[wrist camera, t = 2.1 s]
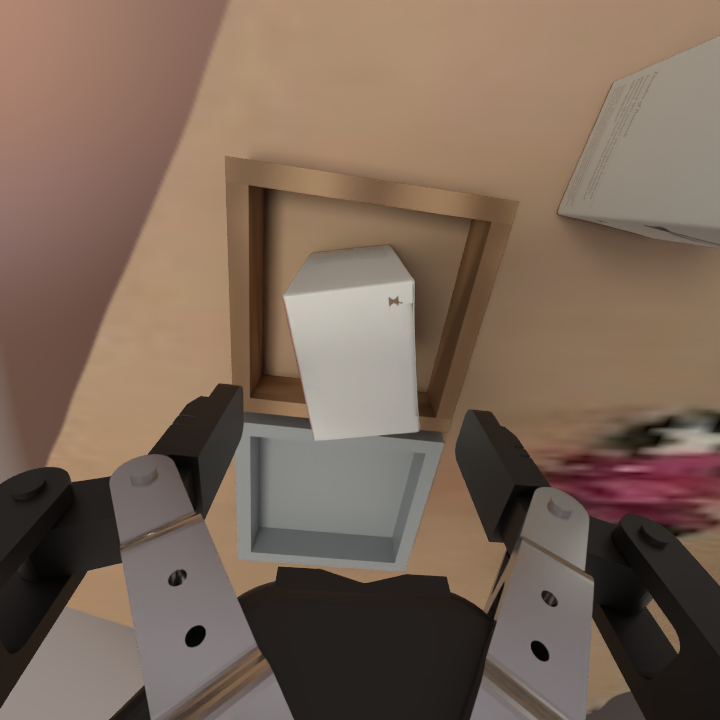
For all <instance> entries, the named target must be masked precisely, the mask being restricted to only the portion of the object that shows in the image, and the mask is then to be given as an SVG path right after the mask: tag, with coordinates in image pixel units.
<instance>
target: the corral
mask: <svg viewBox="0 0 720 720" xmlns="http://www.w3.org/2000/svg"><path fill="white" fill-rule="evenodd" d="M225 175H226V206H227V236H228V267H229V297H230V328H231V358H232V385H239V386H242V387H243V408H244V411H245V412H255V413H264V414H274V415H283V416H293V417H303V418H309V416H308V411H307V407H306V402H305V397H304V393H303V388H302V384H301V379H296V378H287V377H278V376H269V375H262V342H263V254H264V188H271V189H277V190H284V191H291V192H297V193H304V194H311V195H317V196H324V197H331V198H337V199H344V200H351V201H357V202H364V203H371V204H377V205H384V206H391V207H397V208H404V209H410V210H417V211H424V212H430V213H437V214H444V215H450V216H457V217H464V218H470V219H472V222H471V226H470V230H469V234H468V237H467V241H466V245H465V249H464V253H463V257H462V260H461V264H460V268H459V272H458V276H457V280H456V284H455V287H454V291H453V295H452V299H451V303H450V307H449V311H448V314H447V318H446V322H445V326H444V330H443V334H442V337H441V341H440V345H439V349H438V353H437V357H436V361H435V364H434V368H433V372H432V376H431V380H430V384H429V388H428V391H427V393H421V392H417V399H418V413H419V422H420V430H427V431H437V432H446V433H448V430H449V427H450V424H451V421H452V417H453V414H454V411H455V408H456V404H457V401H458V398H459V395H460V392H461V388H462V385H463V382H464V379H465V375H466V372H467V369H468V366H469V362H470V359H471V356H472V353H473V349H474V346H475V343H476V340H477V337H478V333H479V330H480V327H481V324H482V320H483V317H484V314H485V311H486V307H487V304H488V301H489V298H490V295H491V291H492V288H493V285H494V282H495V278H496V275H497V272H498V269H499V265H500V262H501V259H502V256H503V253H504V249H505V246H506V243H507V240H508V236H509V233H510V230H511V227H512V223H513V220H514V217H515V214H516V211H517V207H518V204H519V202H518V201H512V200H505V199H499V198H492V197H486V196H479V195H473V194H467V193H460V192H454V191H447V190H441V189H434V188H428V187H422V186H415V185H409V184H402V183H396V182H389V181H383V180H377V179H370V178H364V177H357V176H351V175H344V174H338V173H332V172H325V171H319V170H312V169H306V168H299V167H293V166H287V165H280V164H274V163H267V162H261V161H254V160H248V159H241V158H235V157H229V156H225Z"/></svg>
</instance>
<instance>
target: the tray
mask: <svg viewBox="0 0 720 720" xmlns="http://www.w3.org/2000/svg"><path fill="white" fill-rule="evenodd" d="M443 446H444V440H443V437H442V435H441V432H437V431H427V430H419V431H418V432H414V433H401V434H390V435H379V436H368V437H357V438H345V439H334V440H320V441H315V440H313V434H312V429H311V425H310V420H309V418H303V417H293V416H283V415H274V414H264V413H255V412H245V411H244V427H243V433H242V437H241V440H240V442H239V445H238V447H237V449H236V451H235V480H236V511H237V541H238V560H251V561H265V562H278V563H292V564H305V565H319V566H332V567H345V568H359V569H372V570H386V571H399V572H405V569H406V566H407V563H408V560H409V556H410V553H411V550H412V547H413V543H414V540H415V537H416V534H417V531H418V527H419V524H420V521H421V518H422V514H423V511H424V508H425V505H426V501H427V498H428V495H429V492H430V488H431V485H432V482H433V479H434V476H435V472H436V469H437V466H438V463H439V459H440V456H441V453H442V450H443Z"/></svg>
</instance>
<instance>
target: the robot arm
mask: <svg viewBox="0 0 720 720" xmlns="http://www.w3.org/2000/svg"><path fill="white" fill-rule="evenodd" d="M243 427H244V408H243V387H242V386H239V385H230V384H218V385H217V386H216V388H215V389H214V390H213V392H212V393H211V395H210V396H209V397H203V396H200V397H198V398H197V399H195V400H193V401H192V402H190V403H189V404H187V405H186V407H185V408H184V409H183V410H182V412H181V413H180V414H179V416H178V417H177V418H176V419H175V420H174V422H173V425H171V426H170V427H169V428H168V429H167V431H166V432H165V433H164V434H163V436H162V437H161V438H160V440H159V441H158V442H157V443H156V445H155V446H154V447H153V448H152V450H151V451H150V452H149V454H148V455H144V456H140V457H137V458H134V459H131V460H129V461H127V462H126V463H124V464H122V465H121V466H120V467H118V468H117V469H116V470H115V471H114V473H113V474H112V476H110V477H104V478H98V479H91V480H84V481H78V482H71V479H70V476H69V474H68V472H67V471H65V470H63V469H61V468H56V467H44V468H38V469H33V470H29V471H26V472H23V473H20V474H18V475H16V476H13V477H12V478H10V479H8V480H6V481H4V482H3V483H1V484H0V708H1V707H2V705H3V703H4V702H5V700H6V699H7V697H8V696H9V694H10V692H11V691H12V689H13V688H14V686H15V685H16V683H17V681H18V680H19V678H20V676H21V675H22V674H23V672H24V670H25V669H26V667H27V666H28V664H29V663H30V661H31V659H32V658H33V656H34V655H35V653H36V651H37V650H38V648H39V647H40V645H41V643H42V642H43V640H44V639H45V637H46V636H47V634H48V633H49V631H50V629H51V628H52V626H53V625H54V623H55V622H56V620H57V618H58V617H59V615H60V614H61V612H62V611H63V609H64V607H65V606H66V604H67V603H68V601H69V600H70V598H71V596H72V595H73V593H74V592H75V590H76V589H77V587H78V585H79V584H80V582H81V581H82V579H83V578H84V576H85V574H86V573H87V571H89V570H93V569H97V568H102V567H106V566H110V565H115V564H119V563H122V564H123V569H124V575H125V580H126V586H127V591H128V597H129V602H130V608H131V613H132V619H133V624H134V630H135V635H136V640H137V645H138V652H139V657H140V663H141V668H142V674H143V679H144V686H143V687H142V688H141V689H140V690H139V691H138V692H137V693H136V694H135V695H134V696H133V697H132V698H131V699H130V700H129V701H128V702H127V703H126V704H125V705H124V706H123V707H122V708H121V709H120V710H119V711H117V713H115V714H114V716H112V717H111V718H110V719H109V720H586V705H587V689H588V673H589V657H590V641H591V625H592V618H593V620H594V622H595V623H596V625H597V627H598V629H599V631H600V633H601V635H602V637H603V639H604V641H605V643H606V644H607V646H608V648H609V650H610V652H611V654H612V656H613V658H614V660H615V662H616V664H617V665H618V667H619V669H620V671H621V673H622V675H623V677H624V679H625V681H626V683H627V685H628V686H629V688H630V690H631V692H632V694H633V696H634V698H635V700H636V702H637V704H638V705H639V707H640V709H641V711H642V713H643V715H644V717H645V719H646V720H720V586H719V585H718V584H717V582H716V581H715V580H714V579H713V578H712V577H711V576H710V575H709V574H708V572H707V571H706V570H705V569H704V568H703V567H702V566H701V565H700V563H699V562H698V561H697V560H696V559H695V558H694V557H693V556H692V555H691V553H690V552H689V551H688V550H687V549H686V548H685V547H684V546H683V545H682V543H681V542H680V541H679V540H678V539H677V538H676V537H675V536H674V535H673V534H672V533H671V532H669V531H668V530H667V529H665V528H664V527H663V526H661V525H659V524H658V523H656V522H654V521H652V520H650V519H648V518H646V517H643V516H640V515H635V514H626V515H624V516H623V517H622V518H621V520H620V521H619V523H618V524H617V525H614V524H611V523H608V522H605V521H602V520H599V519H596V518H593V517H590V516H588V514H587V512H586V510H585V509H584V507H583V506H582V505H581V504H580V503H579V502H578V501H577V500H575V499H574V498H573V497H571V496H570V495H568V494H566V493H565V492H563V491H560V490H558V489H555V488H551V486H550V485H549V483H548V482H547V480H546V479H545V477H544V476H543V475H542V473H541V472H540V470H539V469H538V467H537V466H536V464H535V463H534V461H533V460H532V459H531V458H530V456H529V454H528V453H527V451H526V450H525V449H523V448H524V447H523V446H522V444H521V443H520V441H519V440H518V438H517V437H516V436H515V435H514V434H513V433H511V432H510V431H509V430H508V429H507V428H505V427H503V426H500V424H499V423H498V421H497V420H496V418H495V417H494V415H493V414H492V412H490V411H480V410H468V411H467V413H466V415H465V418H464V421H463V424H462V427H461V430H460V433H459V436H458V439H457V443H456V448H455V454H456V460H457V463H458V465H459V468H460V470H461V473H462V475H463V478H464V480H465V483H466V485H467V488H468V490H469V493H470V495H471V498H472V500H473V503H474V505H475V508H476V510H477V513H478V515H479V518H480V520H481V523H482V525H483V528H484V530H485V533H486V535H487V538H488V540H489V542H502V543H504V544H505V546H506V548H507V549H506V551H505V553H504V555H503V558H502V560H501V563H500V566H499V569H498V572H497V575H496V577H495V580H494V583H493V586H492V589H491V592H490V594H489V597H488V600H487V603H486V606H485V608H484V610H481V609H480V608H479V607H477V606H476V605H475V604H473V603H472V602H470V601H468V600H467V599H465V598H463V597H461V596H459V595H456V594H454V593H451V592H450V589H449V585H448V581H447V577H443V576H426V575H410V574H406V575H401V576H397V577H392V578H388V579H383V580H379V581H374V582H370V583H361V582H358V581H355V580H352V579H349V578H346V577H343V576H340V575H337V574H334V573H331V572H328V571H325V570H322V569H309V568H293V567H278V571H277V576H276V581H275V582H270V583H267V584H264V585H261V586H258V587H255V588H253V589H251V590H249V591H247V592H245V593H243V594H242V595H240V596H239V597H236V594H235V592H234V590H233V587H232V585H231V583H230V580H229V578H228V575H227V573H226V571H225V568H224V566H223V564H222V561H221V559H220V557H219V554H218V552H217V550H216V547H215V545H214V543H213V540H212V538H211V535H210V533H209V531H208V528H207V526H206V524H205V521H204V520H205V518H206V515H207V513H208V511H209V509H210V507H211V504H212V502H213V500H214V498H215V495H216V493H217V491H218V489H219V487H220V484H221V482H222V480H223V478H224V476H225V473H226V471H227V469H228V467H229V465H230V462H231V460H232V458H233V456H234V454H235V451H236V449H237V447H238V445H239V442H240V440H241V437H242V433H243ZM653 598H654V600H655V601H656V603H657V604H658V606H659V607H660V608H661V610H662V611H663V613H664V614H665V616H666V617H667V618H668V620H669V621H670V623H671V624H672V625H673V627H674V629H675V630H676V632H677V635H678V637H679V641H680V652H679V654H677V652H676V651H675V649H674V648H673V646H672V645H671V643H670V642H669V640H668V639H667V637H666V636H665V634H664V633H663V631H662V630H661V628H660V627H659V625H658V624H657V622H656V621H655V619H654V618H653V616H652V615H651V613H650V612H649V610H648V609H647V607H646V606H647V605H648V604H649V602H650V601H651V600H652V599H653Z"/></svg>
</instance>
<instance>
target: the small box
mask: <svg viewBox="0 0 720 720" xmlns="http://www.w3.org/2000/svg"><path fill="white" fill-rule="evenodd" d="M282 298H283V302H284V306H285V311H286V316H287V320H288V325H289V329H290V334H291V338H292V343H293V347H294V352H295V356H296V361H297V366H298V370H299V375H300V379H301V384H302V388H303V393H304V397H305V402H306V407H307V411H308V416H309V420H310V425H311V429H312V434H313V440H315V441H320V440H334V439H345V438H357V437H368V436H379V435H390V434H401V433H414V432H418V431H419V430H420V422H419V413H418V399H417V376H416V353H415V324H414V303H415V281H414V279H413V278H412V277H411V275H410V274H409V272H408V271H407V269H406V268H405V266H404V265H403V263H402V262H401V260H400V259H399V257H398V256H397V255H396V253H395V252H394V250H393V249H392V248H391V246H390V245H389V244H388V245H380V246H371V247H362V248H353V249H344V250H335V251H326V252H318V253H311V254H310V255H309V257H308V258H307V260H306V261H305V263H304V264H303V266H302V267H301V269H300V270H299V272H298V273H297V275H296V276H295V278H294V279H293V281H292V282H291V284H290V285H289V287H288V288H287V290H286V291H285V293H284V294H283V296H282Z"/></svg>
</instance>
